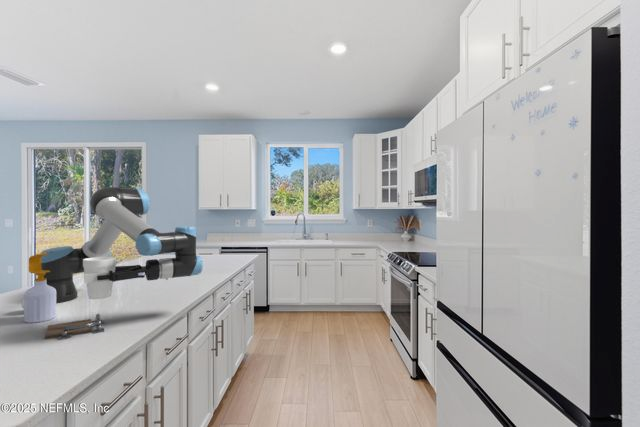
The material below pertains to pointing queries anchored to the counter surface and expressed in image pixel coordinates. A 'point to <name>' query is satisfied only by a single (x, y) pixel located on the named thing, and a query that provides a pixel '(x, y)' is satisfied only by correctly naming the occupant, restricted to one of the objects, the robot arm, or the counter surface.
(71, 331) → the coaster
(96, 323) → the rail
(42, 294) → the soap bottle
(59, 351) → the counter surface
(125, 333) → the counter surface
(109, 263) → the foam cup
